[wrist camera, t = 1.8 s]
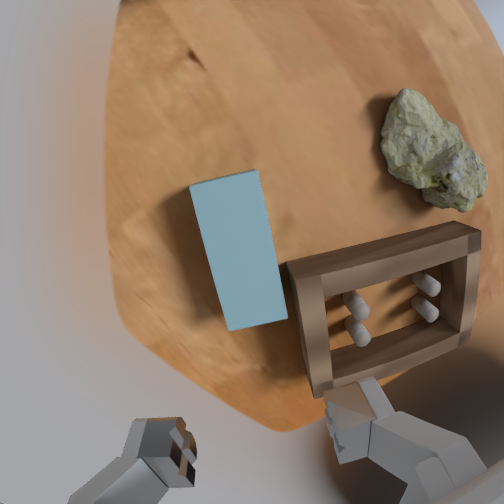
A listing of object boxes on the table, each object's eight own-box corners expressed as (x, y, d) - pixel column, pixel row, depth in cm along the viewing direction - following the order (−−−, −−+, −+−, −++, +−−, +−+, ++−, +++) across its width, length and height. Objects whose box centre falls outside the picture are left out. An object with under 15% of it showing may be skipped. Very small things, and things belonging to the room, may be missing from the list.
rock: (378, 90, 24) (366, 187, 25) (414, 66, 17) (406, 183, 19) (456, 129, 25) (449, 215, 26) (496, 119, 19) (491, 219, 20)
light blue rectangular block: (196, 182, 25) (188, 186, 21) (254, 169, 25) (257, 170, 21) (229, 309, 28) (228, 331, 24) (281, 297, 28) (288, 318, 24)
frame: (285, 261, 27) (295, 281, 22) (454, 220, 27) (481, 230, 22) (305, 371, 31) (314, 399, 26) (449, 323, 30) (469, 341, 26)
